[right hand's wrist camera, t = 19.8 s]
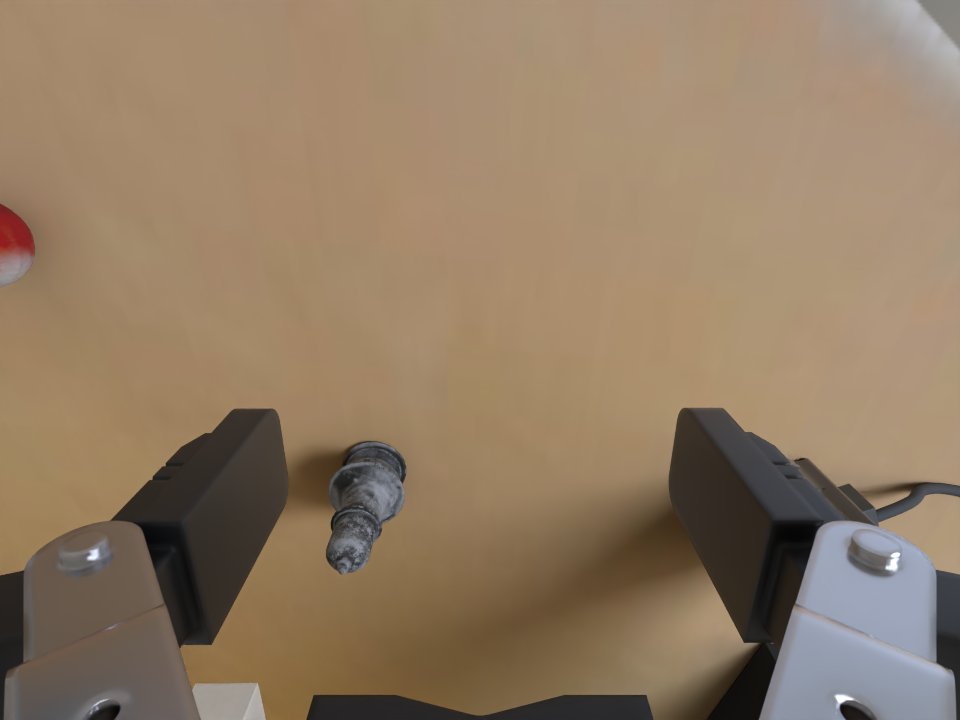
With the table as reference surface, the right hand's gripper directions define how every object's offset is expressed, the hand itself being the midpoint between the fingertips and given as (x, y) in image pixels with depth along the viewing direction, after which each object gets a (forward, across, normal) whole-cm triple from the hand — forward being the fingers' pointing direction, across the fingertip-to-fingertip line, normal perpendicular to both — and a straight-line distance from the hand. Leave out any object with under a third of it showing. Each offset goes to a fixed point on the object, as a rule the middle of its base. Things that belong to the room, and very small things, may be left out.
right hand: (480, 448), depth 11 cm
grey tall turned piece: (+30, -9, -20) cm, 37 cm away
